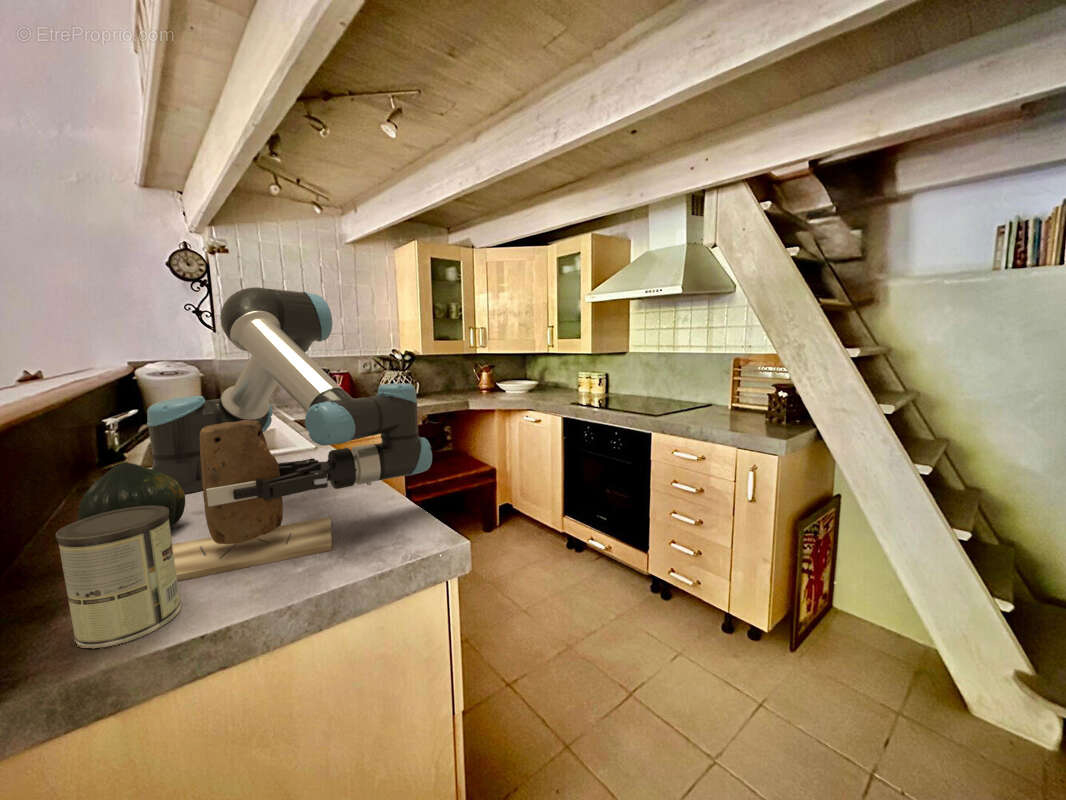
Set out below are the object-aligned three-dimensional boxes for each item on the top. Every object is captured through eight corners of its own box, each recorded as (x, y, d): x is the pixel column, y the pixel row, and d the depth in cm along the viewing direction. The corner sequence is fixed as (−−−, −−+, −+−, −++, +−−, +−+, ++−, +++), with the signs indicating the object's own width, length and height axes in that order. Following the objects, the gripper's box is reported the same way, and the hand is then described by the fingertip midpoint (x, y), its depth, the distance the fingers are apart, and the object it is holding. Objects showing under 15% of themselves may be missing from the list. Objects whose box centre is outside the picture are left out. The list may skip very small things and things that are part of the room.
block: (213, 551, 68) (198, 429, 66) (206, 537, 74) (193, 423, 71) (288, 531, 76) (277, 420, 73) (277, 519, 81) (267, 415, 79)
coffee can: (75, 623, 56) (59, 520, 54) (177, 591, 63) (165, 499, 61) (70, 664, 49) (50, 546, 47) (185, 622, 56) (172, 518, 54)
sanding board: (156, 552, 76) (155, 546, 75) (330, 521, 88) (330, 516, 87) (122, 592, 63) (122, 585, 63) (331, 550, 75) (331, 544, 75)
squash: (150, 523, 75) (170, 448, 83) (42, 538, 71) (73, 458, 79) (189, 547, 86) (202, 479, 94) (97, 561, 82) (119, 489, 90)
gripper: (368, 499, 76) (208, 533, 63) (342, 472, 93) (212, 495, 80) (365, 458, 75) (203, 484, 62) (339, 439, 92) (208, 456, 79)
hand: (208, 490), depth 71 cm, fingers closed on block, 8 cm apart
